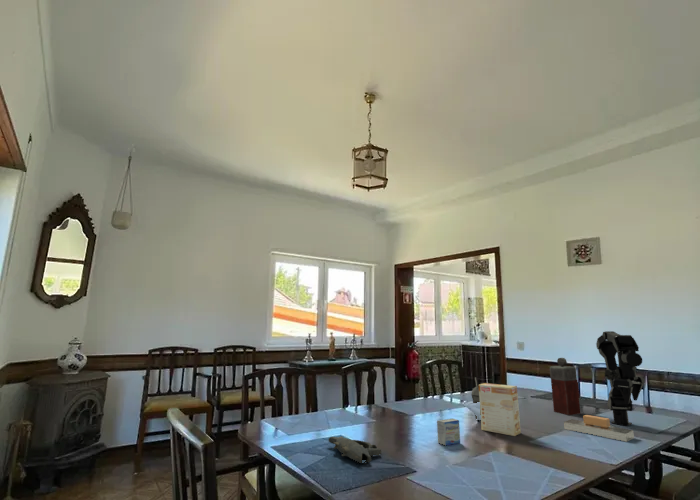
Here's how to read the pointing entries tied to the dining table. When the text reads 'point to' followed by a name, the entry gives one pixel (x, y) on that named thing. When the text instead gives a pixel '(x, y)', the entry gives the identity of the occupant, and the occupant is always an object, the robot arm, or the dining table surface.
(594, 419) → the tan stepped block
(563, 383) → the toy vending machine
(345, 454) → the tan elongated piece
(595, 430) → the rail
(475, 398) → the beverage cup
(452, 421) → the medicine box
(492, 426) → the coffeecake box
